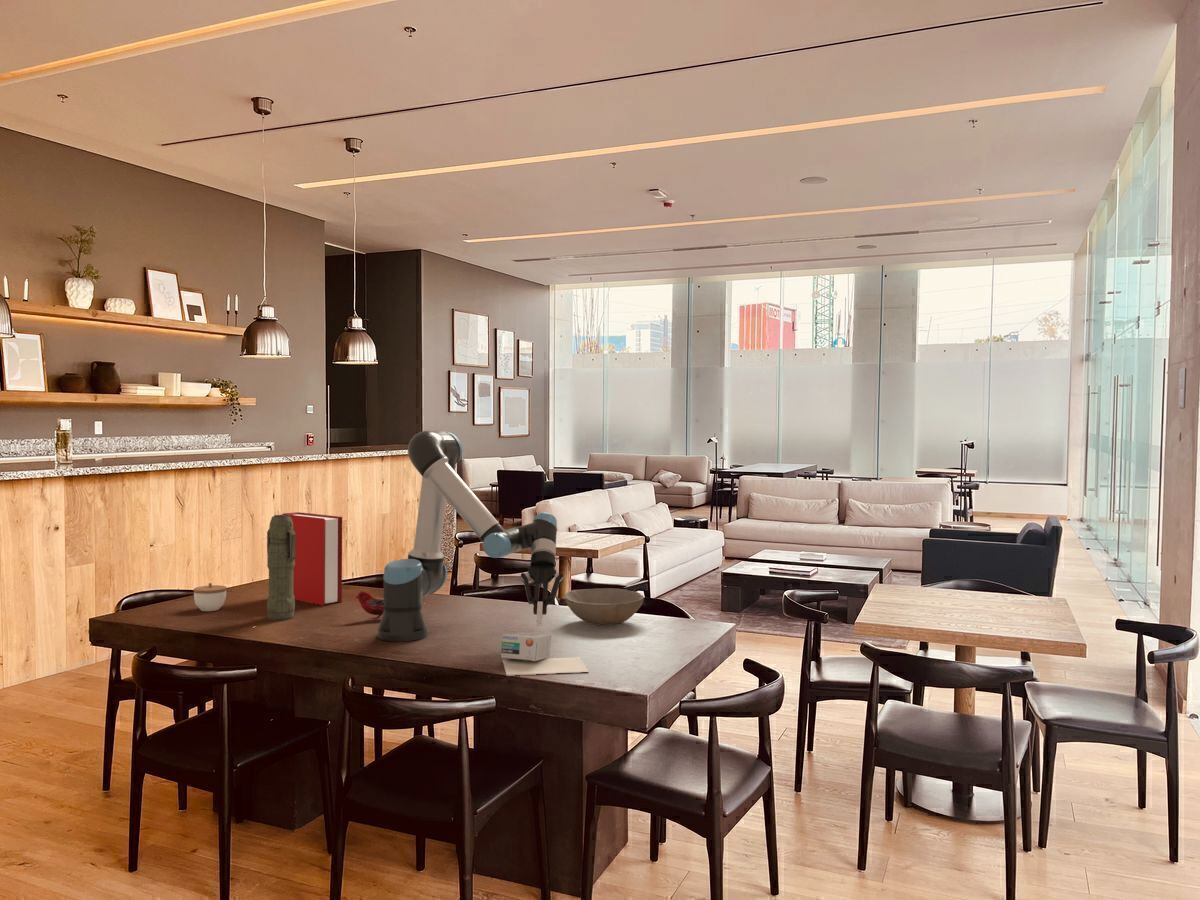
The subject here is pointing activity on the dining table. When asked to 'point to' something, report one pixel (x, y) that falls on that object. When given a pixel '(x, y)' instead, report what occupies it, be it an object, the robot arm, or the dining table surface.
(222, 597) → the lidded jar
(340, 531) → the book
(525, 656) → the light bulb box
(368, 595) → the decorative bird figurine
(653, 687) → the dining table surface
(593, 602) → the bowl
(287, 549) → the stone statue
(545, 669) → the mat
